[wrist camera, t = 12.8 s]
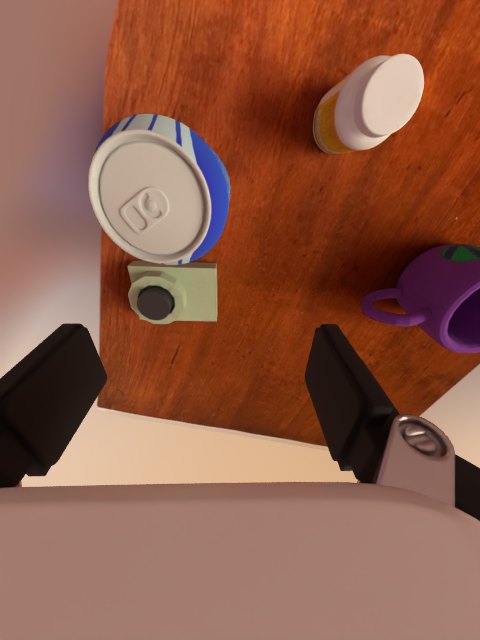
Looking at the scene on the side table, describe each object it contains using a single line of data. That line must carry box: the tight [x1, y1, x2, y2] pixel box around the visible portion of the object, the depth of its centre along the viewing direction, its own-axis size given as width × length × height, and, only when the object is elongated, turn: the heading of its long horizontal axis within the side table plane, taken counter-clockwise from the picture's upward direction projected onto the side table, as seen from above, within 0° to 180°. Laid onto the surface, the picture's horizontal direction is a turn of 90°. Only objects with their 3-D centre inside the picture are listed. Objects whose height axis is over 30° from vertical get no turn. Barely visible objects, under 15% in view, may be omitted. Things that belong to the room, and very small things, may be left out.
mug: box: [361, 244, 480, 353], centre depth 29 cm, size 17×11×10 cm, turn 101°
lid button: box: [137, 286, 173, 320], centre depth 29 cm, size 4×4×2 cm
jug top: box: [127, 260, 217, 324], centre depth 31 cm, size 11×8×4 cm
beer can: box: [88, 114, 230, 265], centre depth 19 cm, size 8×8×16 cm
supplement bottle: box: [313, 54, 424, 154], centre depth 19 cm, size 5×5×10 cm
